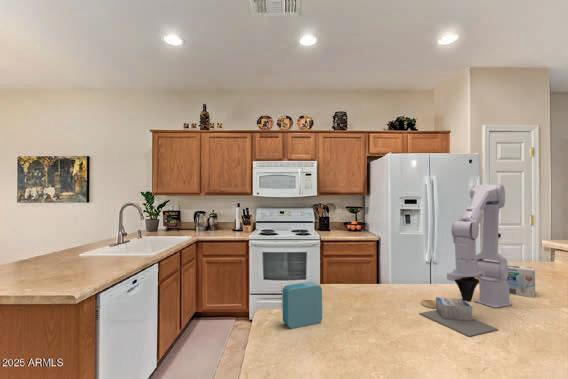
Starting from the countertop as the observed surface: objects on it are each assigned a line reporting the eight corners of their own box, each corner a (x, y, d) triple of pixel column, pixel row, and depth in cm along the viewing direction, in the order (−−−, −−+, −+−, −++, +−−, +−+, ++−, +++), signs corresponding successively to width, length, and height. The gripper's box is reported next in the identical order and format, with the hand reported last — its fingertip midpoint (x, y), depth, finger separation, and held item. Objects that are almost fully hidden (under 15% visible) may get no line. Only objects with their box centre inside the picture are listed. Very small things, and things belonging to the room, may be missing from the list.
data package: (315, 317, 98) (315, 281, 98) (322, 322, 94) (322, 284, 94) (282, 324, 93) (282, 285, 93) (288, 329, 89) (287, 289, 89)
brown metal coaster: (432, 300, 114) (432, 298, 114) (450, 307, 106) (450, 305, 106) (416, 302, 111) (415, 301, 111) (433, 310, 103) (433, 308, 103)
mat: (445, 309, 104) (445, 308, 104) (498, 330, 87) (498, 328, 87) (419, 314, 100) (419, 313, 100) (469, 337, 83) (469, 335, 83)
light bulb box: (501, 292, 122) (500, 266, 122) (503, 289, 127) (502, 263, 127) (535, 298, 115) (534, 270, 115) (535, 294, 120) (534, 267, 120)
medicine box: (472, 306, 93) (442, 304, 95) (472, 321, 93) (442, 318, 95) (463, 298, 101) (435, 296, 103) (463, 311, 101) (435, 309, 102)
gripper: (469, 254, 102) (471, 294, 102) (438, 257, 97) (439, 299, 96) (490, 258, 95) (491, 300, 95) (457, 261, 90) (459, 306, 90)
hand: (466, 300), depth 95 cm, fingers closed
